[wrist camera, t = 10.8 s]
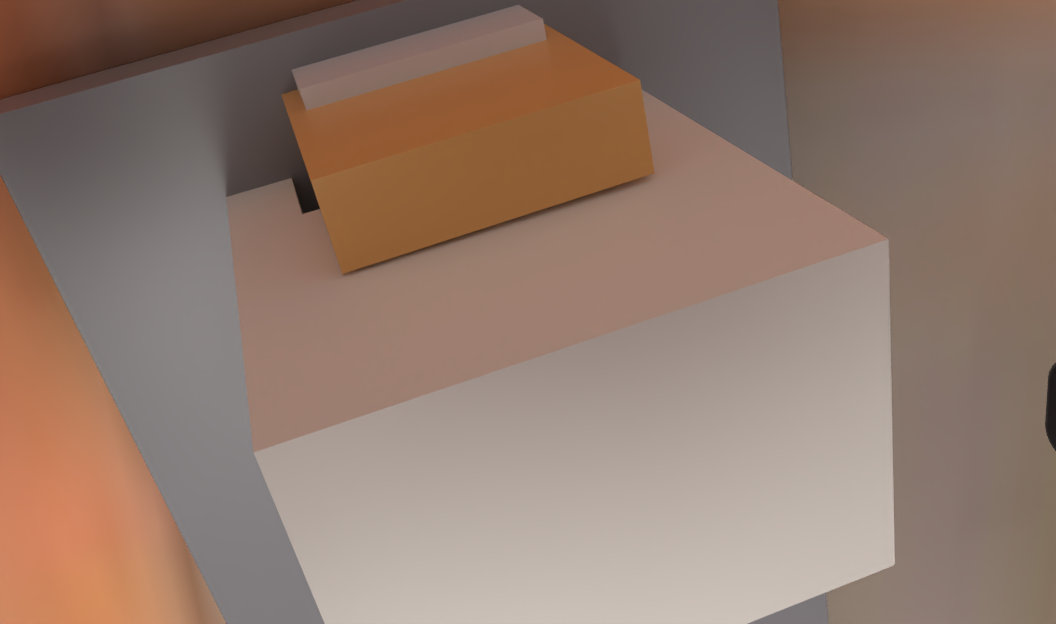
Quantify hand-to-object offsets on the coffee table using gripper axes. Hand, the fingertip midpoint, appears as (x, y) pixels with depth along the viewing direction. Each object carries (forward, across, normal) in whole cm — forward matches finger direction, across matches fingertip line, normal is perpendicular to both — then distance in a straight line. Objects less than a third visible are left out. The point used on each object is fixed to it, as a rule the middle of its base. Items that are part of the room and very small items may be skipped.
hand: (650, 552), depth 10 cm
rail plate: (+9, 0, +6) cm, 11 cm away
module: (+8, 0, 0) cm, 8 cm away
